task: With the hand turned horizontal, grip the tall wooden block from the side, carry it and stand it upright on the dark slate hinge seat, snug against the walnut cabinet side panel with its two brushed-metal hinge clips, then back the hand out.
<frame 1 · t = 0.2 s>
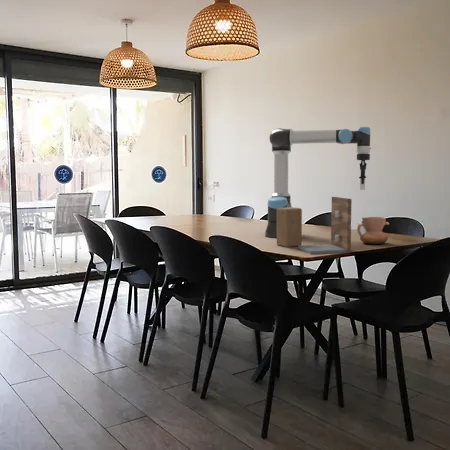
hand: (362, 189, 314), 28 cm above the table, tool pointing down, fingers open, 13 cm apart
cabinet side: (339, 224, 261), on the table
ceramic jug: (372, 243, 284), on the table
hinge: (365, 236, 317), on the table
wooden block: (289, 246, 279), on the table
hinge seat: (321, 250, 261), on the table
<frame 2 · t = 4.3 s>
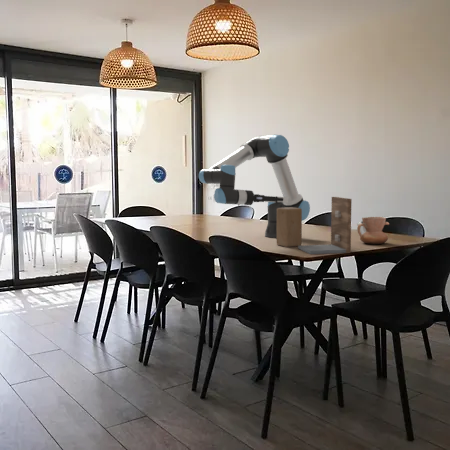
hand: (281, 199, 274), 24 cm above the table, tool horizontal, fingers open, 13 cm apart
nothing on the table moved.
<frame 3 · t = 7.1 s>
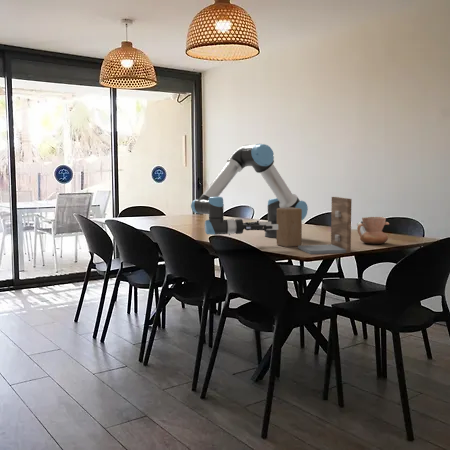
hand: (274, 225, 276), 11 cm above the table, tool horizontal, fingers open, 13 cm apart
nothing on the table moved.
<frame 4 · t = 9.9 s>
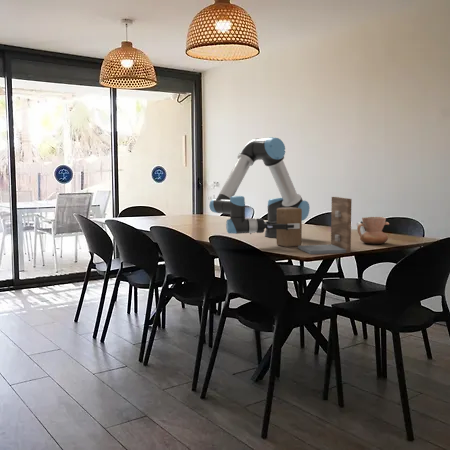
hand: (295, 224, 278), 11 cm above the table, tool horizontal, fingers closed on wooden block, 12 cm apart
wooden block: (288, 245, 279), on the table, touching gripper
everything else where it was.
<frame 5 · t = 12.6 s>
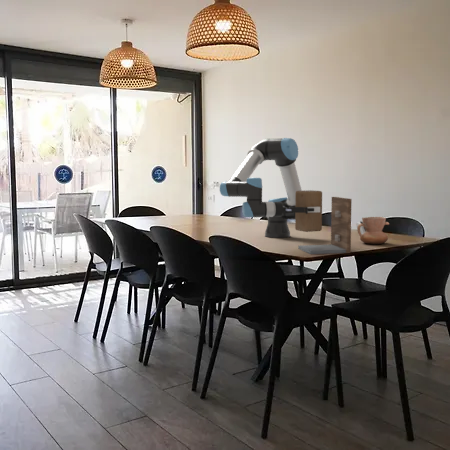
hand: (315, 208, 263), 21 cm above the table, tool horizontal, fingers closed on wooden block, 12 cm apart
wooden block: (308, 231, 264), point 9 cm above the table, touching gripper
everything else where it was.
when the fingers open (13 cm above the table, at t = 15.7 s): wooden block stays where it is, resting on hinge seat.
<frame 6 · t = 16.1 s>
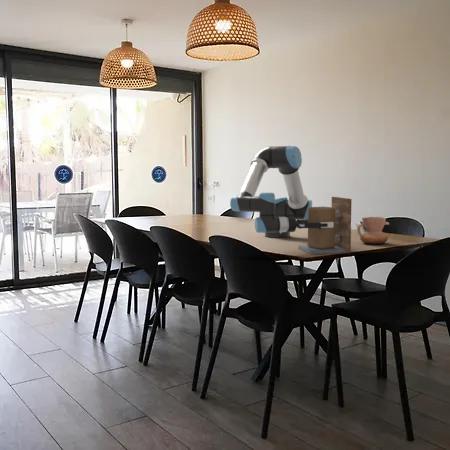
hand: (328, 223, 260), 13 cm above the table, tool horizontal, fingers open, 13 cm apart
wooden block: (321, 247, 260), point 1 cm above the table, touching hinge seat
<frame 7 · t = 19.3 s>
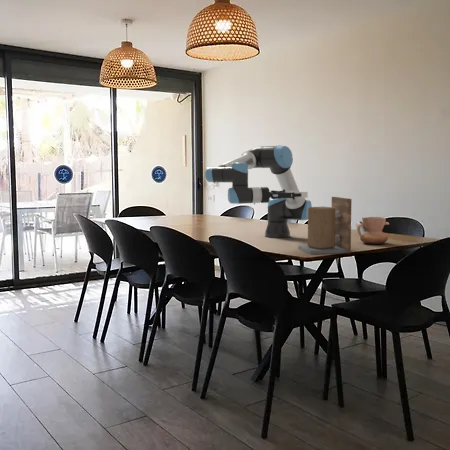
hand: (302, 193, 255), 28 cm above the table, tool horizontal, fingers open, 13 cm apart
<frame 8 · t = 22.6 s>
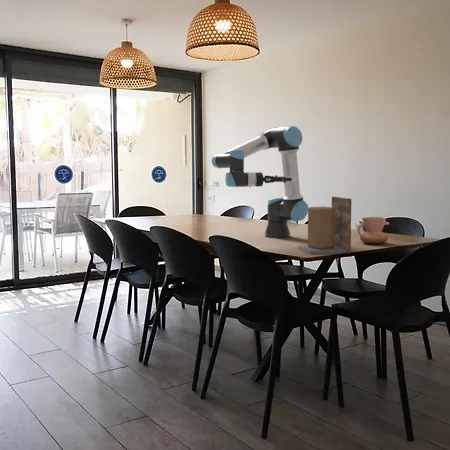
hand: (293, 179, 283), 35 cm above the table, tool horizontal, fingers open, 13 cm apart
at the end: wooden block inside the target area on the hinge seat (0.1 cm from its centre), point 1.3 cm above the hinge seat's base; wooden block tilted 0°; the gripper is holding nothing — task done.
